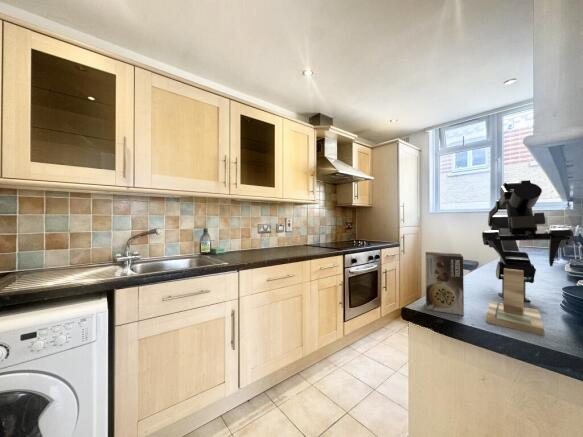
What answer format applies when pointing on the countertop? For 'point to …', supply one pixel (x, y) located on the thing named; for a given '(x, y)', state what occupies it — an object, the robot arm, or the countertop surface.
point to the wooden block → (514, 291)
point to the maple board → (515, 319)
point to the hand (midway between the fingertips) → (527, 264)
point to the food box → (444, 282)
